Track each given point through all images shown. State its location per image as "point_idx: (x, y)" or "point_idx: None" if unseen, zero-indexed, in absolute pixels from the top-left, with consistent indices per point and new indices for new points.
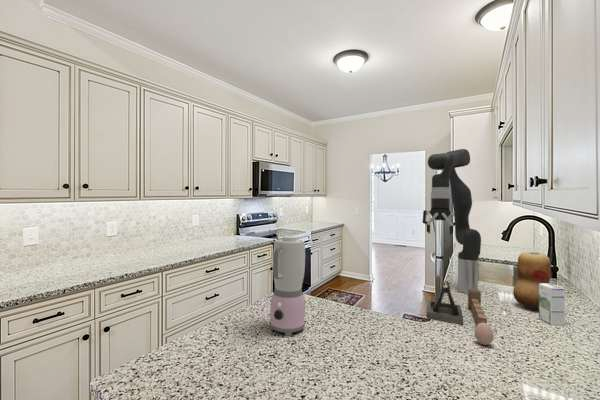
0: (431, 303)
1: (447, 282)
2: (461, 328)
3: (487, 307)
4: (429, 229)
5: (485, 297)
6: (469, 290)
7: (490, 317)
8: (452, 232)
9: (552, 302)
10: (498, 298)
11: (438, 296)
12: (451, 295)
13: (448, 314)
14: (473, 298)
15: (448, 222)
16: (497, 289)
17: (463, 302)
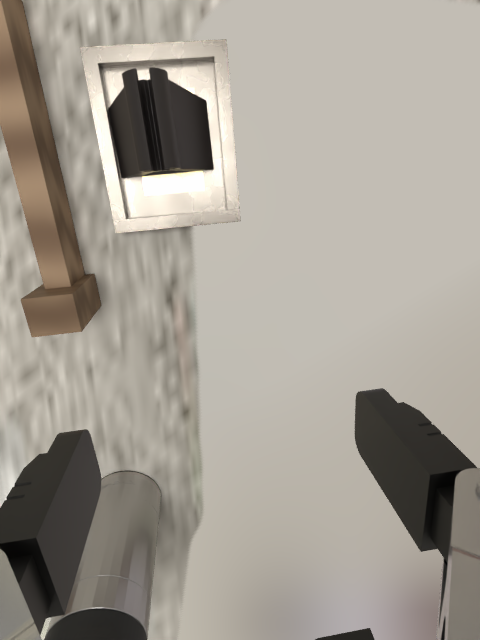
0: (224, 209)
1: (141, 130)
2: (87, 4)
3: (38, 349)
4: (393, 420)
5: None
6: (72, 309)
7: (11, 228)
8: (34, 463)
9: None
10: None
11: (190, 132)
12: (132, 156)
13: (139, 54)
14: (62, 287)
15: (27, 626)
16: None
17: (123, 357)
